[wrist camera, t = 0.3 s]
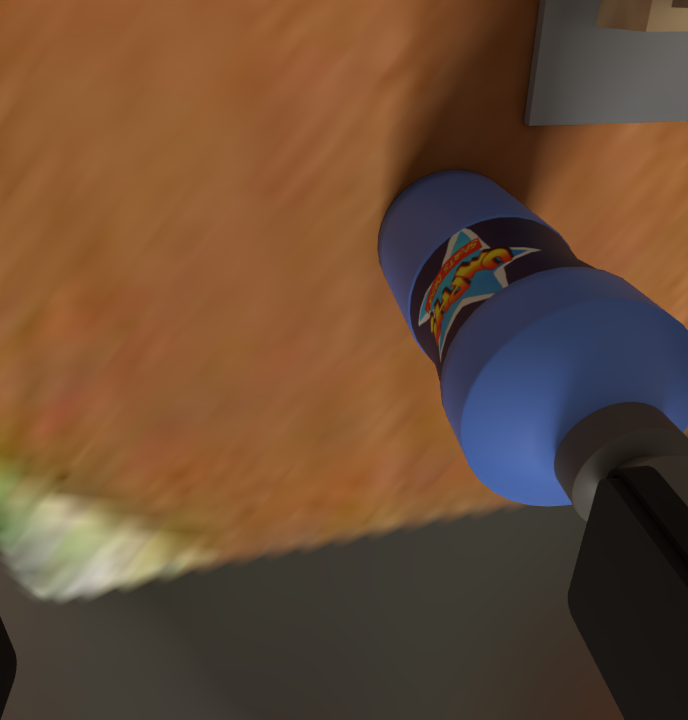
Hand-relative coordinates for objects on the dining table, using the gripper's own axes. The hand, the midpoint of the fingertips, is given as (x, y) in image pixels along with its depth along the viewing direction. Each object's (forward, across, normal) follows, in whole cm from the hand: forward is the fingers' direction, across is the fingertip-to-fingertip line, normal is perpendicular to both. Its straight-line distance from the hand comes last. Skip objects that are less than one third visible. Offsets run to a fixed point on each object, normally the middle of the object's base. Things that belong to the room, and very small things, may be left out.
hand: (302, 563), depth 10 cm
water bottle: (+31, -11, +6) cm, 33 cm away
